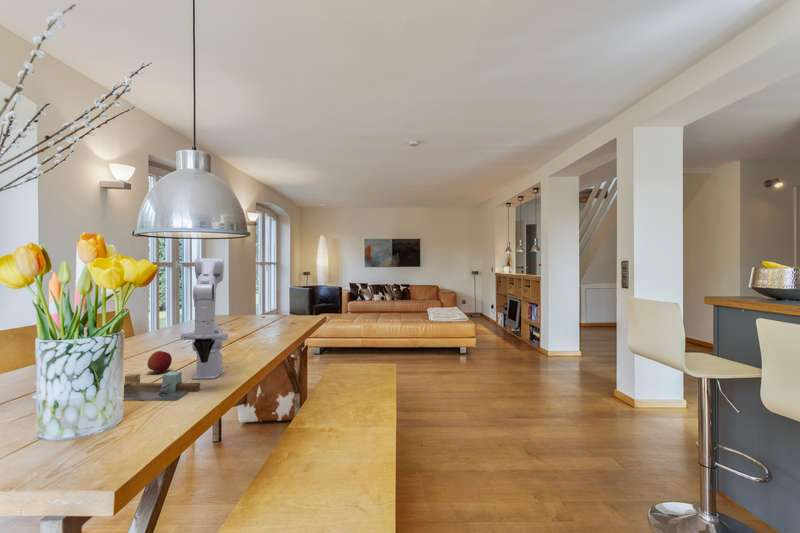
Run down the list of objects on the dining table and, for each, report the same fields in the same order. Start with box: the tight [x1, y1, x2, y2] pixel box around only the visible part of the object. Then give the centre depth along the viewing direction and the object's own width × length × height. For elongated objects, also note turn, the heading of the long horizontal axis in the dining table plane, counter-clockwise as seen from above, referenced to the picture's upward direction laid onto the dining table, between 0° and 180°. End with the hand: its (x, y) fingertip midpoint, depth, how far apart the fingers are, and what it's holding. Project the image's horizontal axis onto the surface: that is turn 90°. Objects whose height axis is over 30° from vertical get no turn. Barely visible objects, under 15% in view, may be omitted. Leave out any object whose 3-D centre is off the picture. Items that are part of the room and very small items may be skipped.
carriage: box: [160, 371, 183, 393], centre depth 129 cm, size 9×4×5 cm, turn 2°
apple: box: [147, 350, 173, 374], centre depth 151 cm, size 8×8×8 cm
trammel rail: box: [123, 373, 201, 393], centre depth 128 cm, size 8×24×5 cm, turn 92°
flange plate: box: [123, 390, 189, 402], centre depth 125 cm, size 7×22×1 cm, turn 92°
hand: (204, 361), depth 132 cm, fingers closed
